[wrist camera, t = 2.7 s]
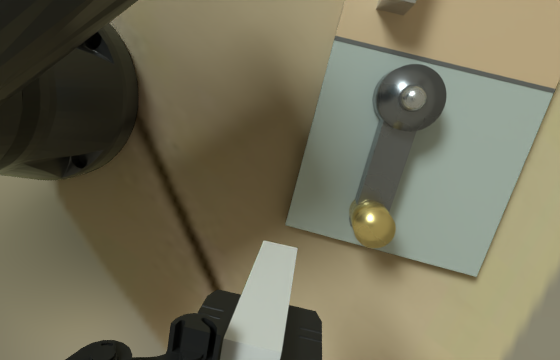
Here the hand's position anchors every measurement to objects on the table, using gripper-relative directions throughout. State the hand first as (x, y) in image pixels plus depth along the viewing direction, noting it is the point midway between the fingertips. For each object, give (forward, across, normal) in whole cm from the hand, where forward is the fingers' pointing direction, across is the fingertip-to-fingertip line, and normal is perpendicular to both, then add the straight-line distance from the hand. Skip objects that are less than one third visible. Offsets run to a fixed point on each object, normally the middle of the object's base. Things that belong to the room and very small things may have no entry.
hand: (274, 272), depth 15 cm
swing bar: (+14, +6, +5) cm, 16 cm away
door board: (+15, +8, +9) cm, 19 cm away
